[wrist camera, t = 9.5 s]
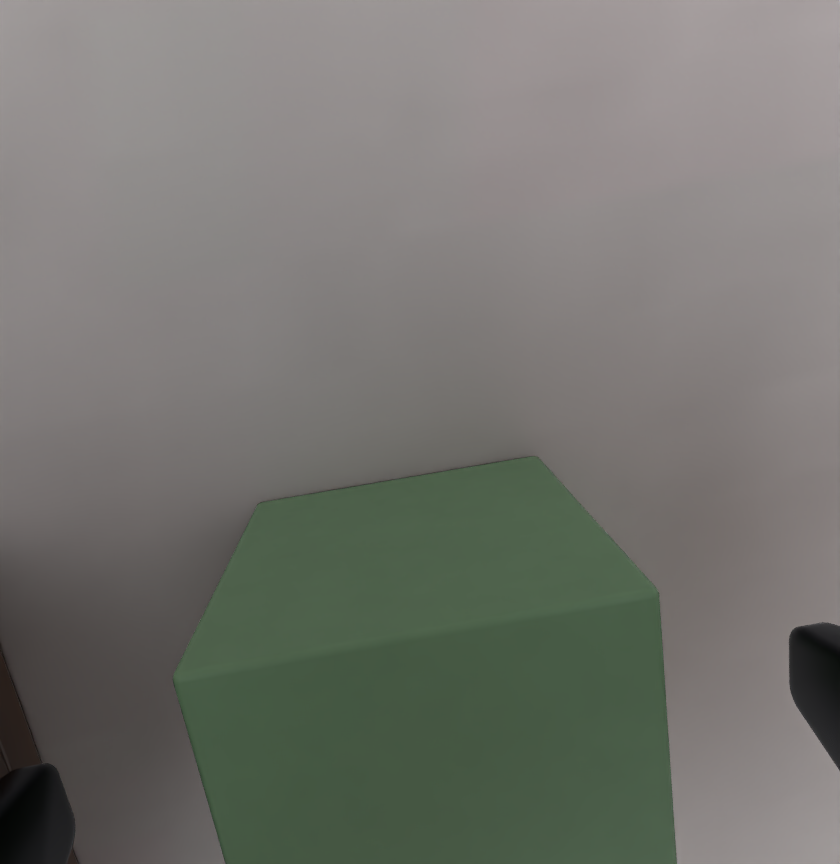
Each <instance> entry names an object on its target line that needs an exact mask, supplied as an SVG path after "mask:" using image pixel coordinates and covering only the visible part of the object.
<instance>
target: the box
mask: <svg viewBox="0 0 840 864" xmlns="http://www.w3.org/2000/svg"><path fill="white" fill-rule="evenodd" d="M37 764H42V763H41V761H40V758H39V755H38V752H37V749H36V747H35V744H34V741H33V738H32V736H31V733H30V730H29V727H28V725H27V722H26V719H25V716H24V714H23V711H22V708H21V705H20V703H19V700H18V697H17V694H16V691H15V689H14V686H13V683H12V680H11V678H10V675H9V672H8V669H7V667H6V664H5V661H4V658H3V656H2V653H1V650H0V778H2V777H3V776H5V775H6V774H7V773H9V772H10V771H12V770H14V769H17V768H21V767H26V766H32V765H37ZM67 864H78V863H77V860H76V857H75V855H74V852H73V849H72V848H71V852H70V855H69V858H68V862H67Z"/></svg>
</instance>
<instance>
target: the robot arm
mask: <svg viewBox="0 0 840 864" xmlns="http://www.w3.org/2000/svg"><path fill="white" fill-rule="evenodd" d="M789 684H790V690H791V694H792V697H793V700H794V702H795V704H796V706H797V707H798V709H799V711H800V712H801V714H802V715H803V717H804V718H805V720H806V721H807V723H808V724H809V726H810V727H811V729H812V730H813V732H814V733H815V735H816V736H817V738H818V739H819V740H820V742H821V743H822V745H823V746H824V748H825V749H826V751H827V752H828V754H829V755H830V757H831V758H832V760H833V761H834V763H835V764H836V766H837V767H838V769H839V770H840V626H838V625H835V624H831V623H825V622H822V623H816V624H811V625H805V626H800V627H796V628H795V629H793V630H792V632H791V634H790V637H789ZM74 836H75V819H74V815H73V812H72V809H71V806H70V803H69V801H68V798H67V795H66V792H65V789H64V787H63V784H62V781H61V778H60V775H59V773H58V771H57V769H56V768H55V767H54V766H53V765H52V764H48V763H43V764H37V765H32V766H26V767H21V768H17V769H14V770H12V771H10V772H9V773H7V774H6V775H5V776H3V777H2V778H0V864H67V862H68V858H69V855H70V852H71V848H72V845H73V841H74Z"/></svg>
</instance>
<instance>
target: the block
mask: <svg viewBox="0 0 840 864" xmlns="http://www.w3.org/2000/svg"><path fill="white" fill-rule="evenodd" d="M173 683H174V686H175V690H176V693H177V697H178V700H179V704H180V707H181V711H182V714H183V718H184V721H185V724H186V728H187V731H188V735H189V738H190V742H191V745H192V749H193V752H194V756H195V759H196V763H197V766H198V770H199V773H200V776H201V780H202V783H203V787H204V790H205V794H206V797H207V801H208V804H209V808H210V811H211V815H212V818H213V821H214V825H215V828H216V832H217V835H218V839H219V842H220V846H221V849H222V853H223V856H224V860H225V863H226V864H677V860H676V845H675V830H674V814H673V799H672V784H671V769H670V754H669V739H668V723H667V708H666V693H665V678H664V663H663V647H662V632H661V617H660V602H659V592H658V590H657V589H656V587H655V586H654V585H653V584H652V583H651V582H650V580H649V579H648V578H647V577H646V576H645V575H644V574H643V573H642V572H641V570H640V569H639V568H638V567H637V566H636V565H635V564H634V563H633V562H632V561H631V559H630V558H629V557H628V556H627V555H626V554H625V553H624V552H623V551H622V549H621V548H620V547H619V546H618V545H617V544H616V543H615V542H614V541H613V540H612V538H611V537H610V536H609V535H608V534H607V533H606V532H605V531H604V530H603V528H602V527H601V526H600V525H599V524H598V523H597V522H596V521H595V520H594V519H593V517H592V516H591V515H590V514H589V513H588V512H587V511H586V510H585V509H584V507H583V506H582V505H581V504H580V503H579V502H578V501H577V500H576V499H575V498H574V496H573V495H572V494H571V493H570V492H569V491H568V490H567V489H566V488H565V486H564V485H563V484H562V483H561V482H560V481H559V480H558V479H557V478H556V477H555V475H554V474H553V473H552V472H551V471H550V470H549V469H548V468H547V467H546V465H545V464H544V463H543V462H542V461H541V460H540V459H539V458H538V457H536V456H532V457H526V458H520V459H514V460H508V461H502V462H496V463H490V464H484V465H479V466H473V467H467V468H461V469H455V470H449V471H443V472H437V473H431V474H426V475H420V476H414V477H408V478H402V479H396V480H390V481H384V482H379V483H373V484H367V485H361V486H355V487H349V488H343V489H337V490H331V491H326V492H320V493H314V494H308V495H302V496H296V497H290V498H284V499H278V500H273V501H267V502H261V503H259V504H258V505H257V507H256V509H255V511H254V513H253V515H252V517H251V519H250V521H249V523H248V525H247V527H246V529H245V531H244V533H243V535H242V537H241V539H240V541H239V543H238V545H237V547H236V549H235V551H234V553H233V555H232V557H231V559H230V561H229V563H228V565H227V567H226V569H225V571H224V573H223V575H222V577H221V579H220V581H219V583H218V585H217V587H216V589H215V591H214V593H213V595H212V597H211V599H210V602H209V604H208V606H207V608H206V610H205V612H204V614H203V616H202V618H201V620H200V622H199V624H198V626H197V628H196V630H195V632H194V634H193V636H192V638H191V640H190V642H189V644H188V646H187V648H186V650H185V652H184V654H183V656H182V658H181V660H180V662H179V664H178V666H177V668H176V670H175V672H174V676H173Z"/></svg>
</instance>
